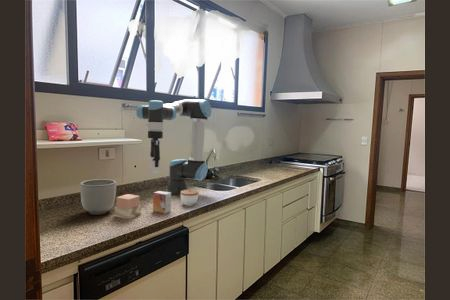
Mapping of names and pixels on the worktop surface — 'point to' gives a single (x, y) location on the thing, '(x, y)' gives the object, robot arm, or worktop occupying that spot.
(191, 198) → the lidded jar
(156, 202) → the small box
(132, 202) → the terracotta block
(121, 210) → the clear square container
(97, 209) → the planter
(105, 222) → the worktop surface
